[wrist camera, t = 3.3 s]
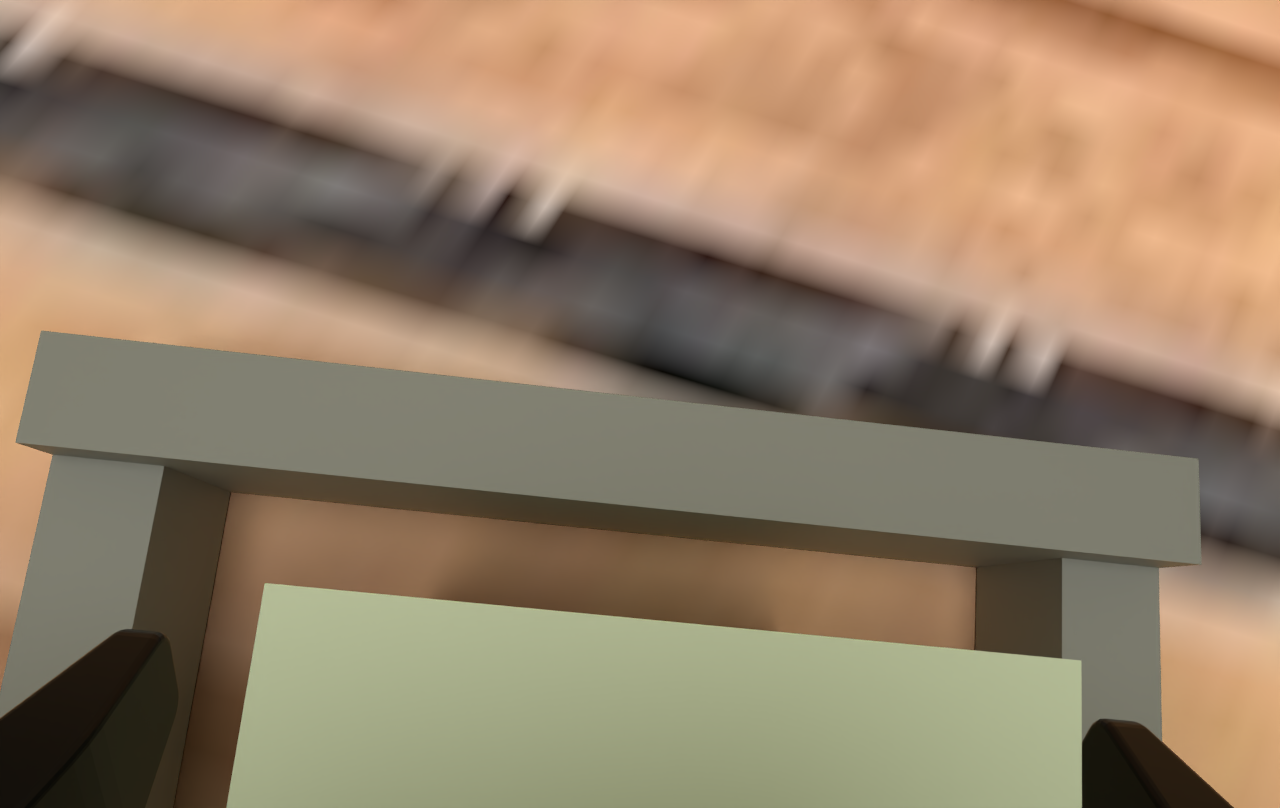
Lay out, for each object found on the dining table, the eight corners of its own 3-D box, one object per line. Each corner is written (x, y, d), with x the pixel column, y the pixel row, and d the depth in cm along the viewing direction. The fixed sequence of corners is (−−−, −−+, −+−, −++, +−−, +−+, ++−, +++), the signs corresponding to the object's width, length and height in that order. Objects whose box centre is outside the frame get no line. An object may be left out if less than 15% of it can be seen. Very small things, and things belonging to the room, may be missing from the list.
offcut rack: (1056, 1205, 16) (1225, 1401, 12) (4, 1148, 15) (-192, 1343, 11) (1057, 492, 18) (1198, 458, 14) (156, 396, 17) (41, 330, 13)
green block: (767, 819, 17) (1081, 1112, 7) (401, 790, 16) (184, 1054, 6) (778, 635, 17) (1080, 660, 7) (427, 602, 17) (264, 584, 7)
